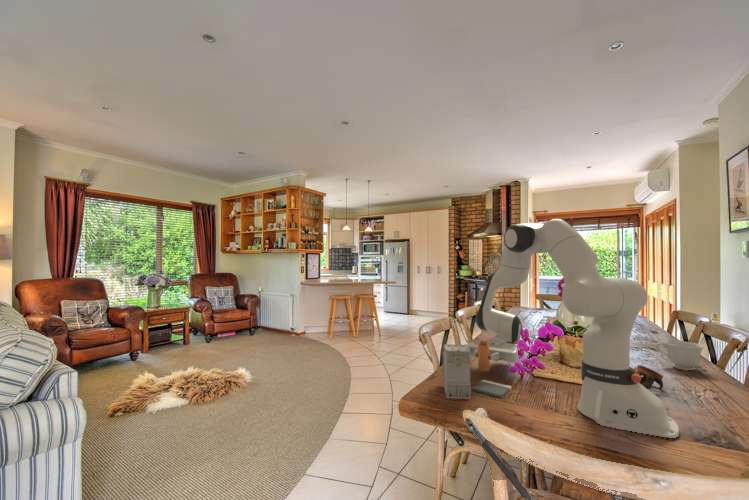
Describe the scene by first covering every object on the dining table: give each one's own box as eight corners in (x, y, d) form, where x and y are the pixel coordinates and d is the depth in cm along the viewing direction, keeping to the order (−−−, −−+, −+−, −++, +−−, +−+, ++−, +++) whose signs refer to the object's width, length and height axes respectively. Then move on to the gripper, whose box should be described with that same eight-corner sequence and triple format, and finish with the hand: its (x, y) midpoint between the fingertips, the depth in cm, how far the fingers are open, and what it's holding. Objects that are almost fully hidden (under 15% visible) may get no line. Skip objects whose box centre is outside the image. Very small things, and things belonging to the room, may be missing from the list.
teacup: (651, 361, 145) (651, 338, 145) (697, 366, 138) (696, 342, 138) (661, 369, 134) (660, 344, 134) (710, 375, 127) (710, 349, 127)
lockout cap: (491, 369, 123) (490, 341, 123) (487, 371, 120) (486, 343, 120) (480, 366, 126) (480, 339, 126) (476, 369, 122) (476, 341, 123)
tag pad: (511, 388, 114) (511, 386, 114) (501, 397, 106) (501, 395, 106) (482, 381, 120) (482, 379, 120) (471, 390, 112) (471, 387, 112)
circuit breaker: (463, 382, 120) (463, 340, 120) (470, 398, 105) (470, 351, 106) (442, 381, 120) (442, 340, 121) (446, 397, 106) (446, 350, 107)
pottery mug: (620, 382, 121) (631, 362, 122) (650, 398, 117) (661, 377, 118) (631, 384, 111) (643, 363, 111) (665, 402, 107) (676, 380, 107)
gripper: (471, 337, 140) (456, 343, 129) (522, 344, 127) (510, 351, 116) (471, 352, 139) (456, 359, 129) (522, 361, 126) (511, 370, 116)
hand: (482, 356), depth 122 cm, fingers closed on lockout cap, 4 cm apart
